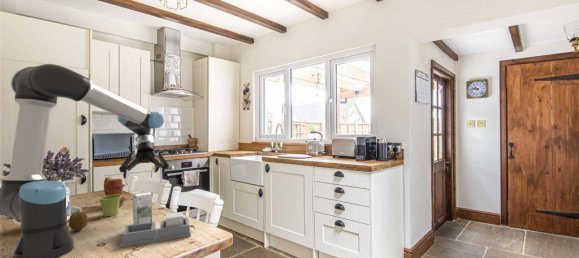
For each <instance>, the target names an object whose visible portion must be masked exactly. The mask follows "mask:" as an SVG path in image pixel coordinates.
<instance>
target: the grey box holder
mask: <svg viewBox="0 0 579 258" xmlns="http://www.w3.org/2000/svg"><path fill="white" fill-rule="evenodd" d="M188 237H192V232H191V227H190V222H189V218H188V217H184V212H183V211H180V212H173V213H166V214H165V220H160V227H159V228H156V221H152V222H149V223H142V224H134V225H133V224H129V225H128V224H127V225H125V228H124V229H123V232H122V235H121V241H120V245H119V246H120V248H125V247H131V246H138V245H144V244H150V243H151V244H152V243H156V242H157V243H158V242H164V241H170V240H176V239H182V238H188Z"/></svg>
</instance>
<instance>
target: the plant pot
mask: <svg viewBox="0 0 579 258" xmlns="http://www.w3.org/2000/svg"><path fill="white" fill-rule="evenodd" d="M121 196H122V195H107V196H106V195H103V196H100V197H98V198H97V199H98V200H99V203H100V205H101V206H100V207H101V211H102V215H103V217H106V218H107V217H113V216H117V215H118V214H119V209H120V206H119V203H120V199H121Z"/></svg>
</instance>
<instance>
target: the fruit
mask: <svg viewBox="0 0 579 258" xmlns="http://www.w3.org/2000/svg"><path fill="white" fill-rule="evenodd" d="M88 220H89V218H88V215H87V213H86V212H85V211H81V210H77V211H76V212H74V213H71V216H70V218H69V221H68V225H69V227H70V229H71V230H73V231H76V232H80V231H81V230H83V229H85V228H86V226H87V224H88Z"/></svg>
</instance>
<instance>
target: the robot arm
mask: <svg viewBox="0 0 579 258" xmlns="http://www.w3.org/2000/svg"><path fill="white" fill-rule="evenodd" d="M10 81H11V82H10V87H11V88H12V91H13V92H14V100H13V101H14V102H15V103H16V104H17V105H18V113H17V121H16V127H15V135H14V141H13V147H12V155H11V162H10V166H9V167H10V168H9V173H8V174H7V175H5V176H4V177H2V181H1V186H0V214H1V215H3V216H4V217H7V218H12V219H19V221H20V236H19V240H18V242H17V244H16V247H15V249H14V252H13V258H59V257H62V256H63V255H66V254H67V253H69V252H72V250H74V247H75V246H74V245H75V242H74V241H75V240H74V238H73V236H72V233H71V232H70V230H69V228H68V222H67V211H66V195H67V193H66V188H65V187H66V185H65V184H64V183H63V182H62V181H57V180H47V177H46V176H45V175H43V168H44V167H43V166H44V161H45V154H46V145H47V137H48V132H49V131H48V130H49V126H50V125H49V123H50V116H51V110H52V109H53V108H55V107H57V103H58V98H65V99H68V100H72V101H74V102H81V101H82V102H84V103H86V104H89V105H90V106H94V107H96V108H99V109H100V110H103V111H105V112H108V113H111V114H113V115H115V116H117V119H116V120H117V121H118V123H120V124H121V125H122V126H124V127H125V128H127V129H128V130H129V131H131V132H133V134H135V135H136V136H137V145H136V146H137V147H136V153H134V154H133V153H132V152H129V153H128V156H127V158H126V159H125V160H124V162H122V164H121V165H120V166H119V167H118V168H119V169H118V170H119V172H120V173H123V174H122V176H123V179H125V180H124V183H125V187H126V186H127V187H128V186H129V179H130V171H131V170H132V169H134V168H135V167H136V166H137V165H140V163H142V164H144V163H150V162H151V163H152V164H154V165H155V166H156V167H158V169H159V175H160V176H159V183H163V176H165V174H166V173H165V172H166V171H165V170H169V169H170V164H169V163H168V162H167V160H166V158H165V157H164V156H163V155H162V152H161V151H158V152H156V153H155V146H156V145H155V142H156V140H155V134H156V129H159V128H162V126H163V125H164V122H165V121H164V120H165V118H164V115H163V114H162V113H160V112H158V111H150V110H148V109H145V108H143V107H142V106H140V105H137V104H135V103H134V102H131V101H129V100H127V99H125V98H123V97H121V96H119V95H117V94H115V93H113V92H111V91H109V90H108V89H105V88H102V87H101V86H98V85H96V84H94V83H92V82H93V81H92V80H91V79H90V78H89V77H86V76H84V75H82V74H80V73H78V72H76V71H74V70H71V69H69V68H67V67H65V66H63V65H58V64H54V63H53V64H52V63H46V64H44V63H43V64H41V65H40V64H39V65H35V66H28V67H24V68H22V69H19V70H18V71H16V72H15V73H14V74H13V76H12V78H11V80H10ZM157 158H158V159H159V160H158V159H157Z"/></svg>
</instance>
